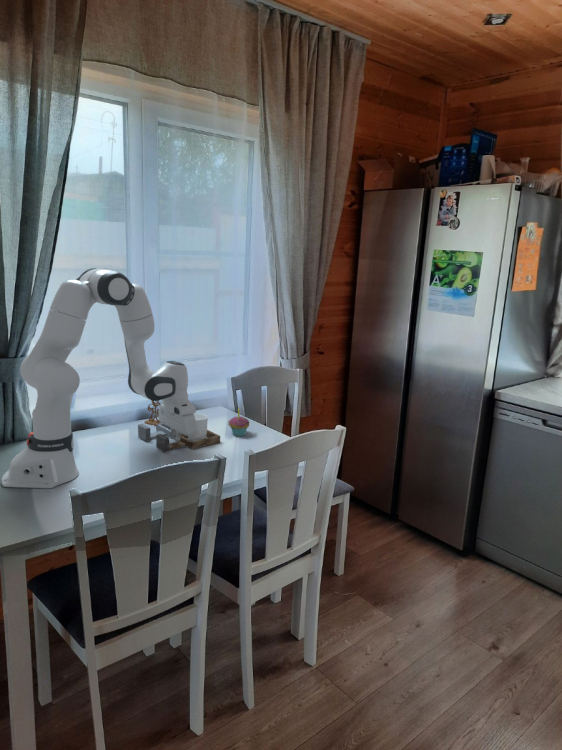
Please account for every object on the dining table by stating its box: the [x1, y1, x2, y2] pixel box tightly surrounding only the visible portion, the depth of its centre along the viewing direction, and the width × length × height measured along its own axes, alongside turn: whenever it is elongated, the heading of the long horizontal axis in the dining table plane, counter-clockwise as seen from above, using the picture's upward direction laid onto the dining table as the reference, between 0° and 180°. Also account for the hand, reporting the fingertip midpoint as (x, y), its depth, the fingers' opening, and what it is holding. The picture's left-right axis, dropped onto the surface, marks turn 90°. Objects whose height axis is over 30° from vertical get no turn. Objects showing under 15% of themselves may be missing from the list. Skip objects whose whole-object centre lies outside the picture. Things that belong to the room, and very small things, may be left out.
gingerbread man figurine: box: [144, 400, 161, 427], centre depth 230 cm, size 9×4×12 cm, turn 59°
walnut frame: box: [155, 429, 221, 453], centre depth 210 cm, size 22×12×5 cm, turn 132°
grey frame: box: [137, 423, 172, 442], centre depth 220 cm, size 22×12×5 cm, turn 132°
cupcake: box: [227, 408, 250, 437], centre depth 222 cm, size 9×8×12 cm
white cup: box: [187, 413, 209, 442], centre depth 212 cm, size 8×8×10 cm
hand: (176, 439), depth 207 cm, fingers closed
